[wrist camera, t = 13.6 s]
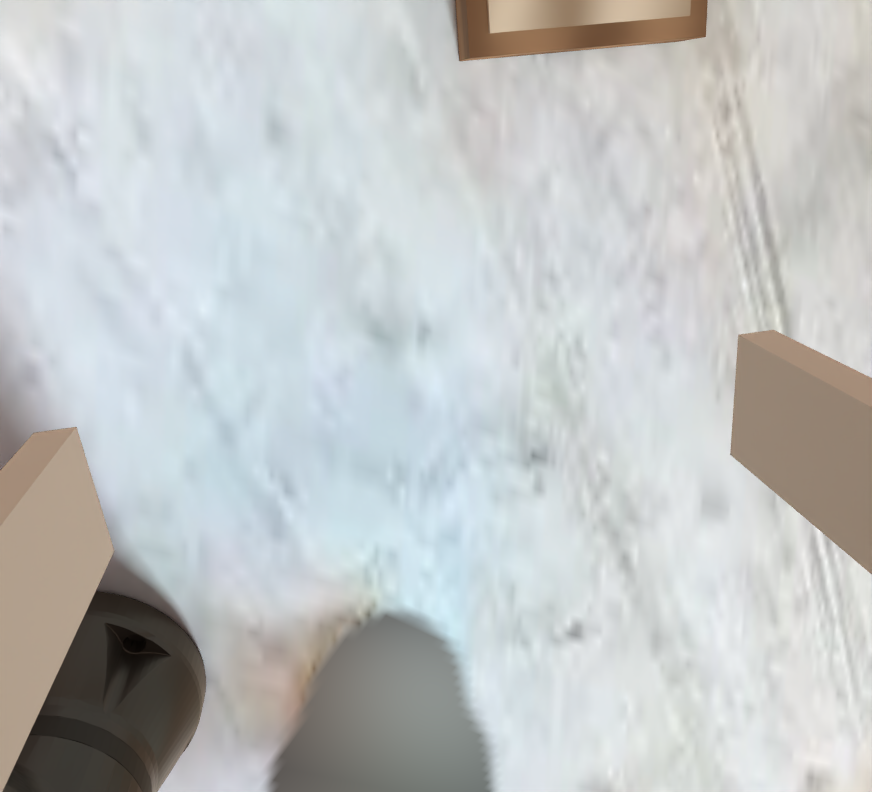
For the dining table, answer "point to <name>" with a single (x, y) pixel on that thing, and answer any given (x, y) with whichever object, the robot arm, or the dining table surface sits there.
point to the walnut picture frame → (572, 25)
